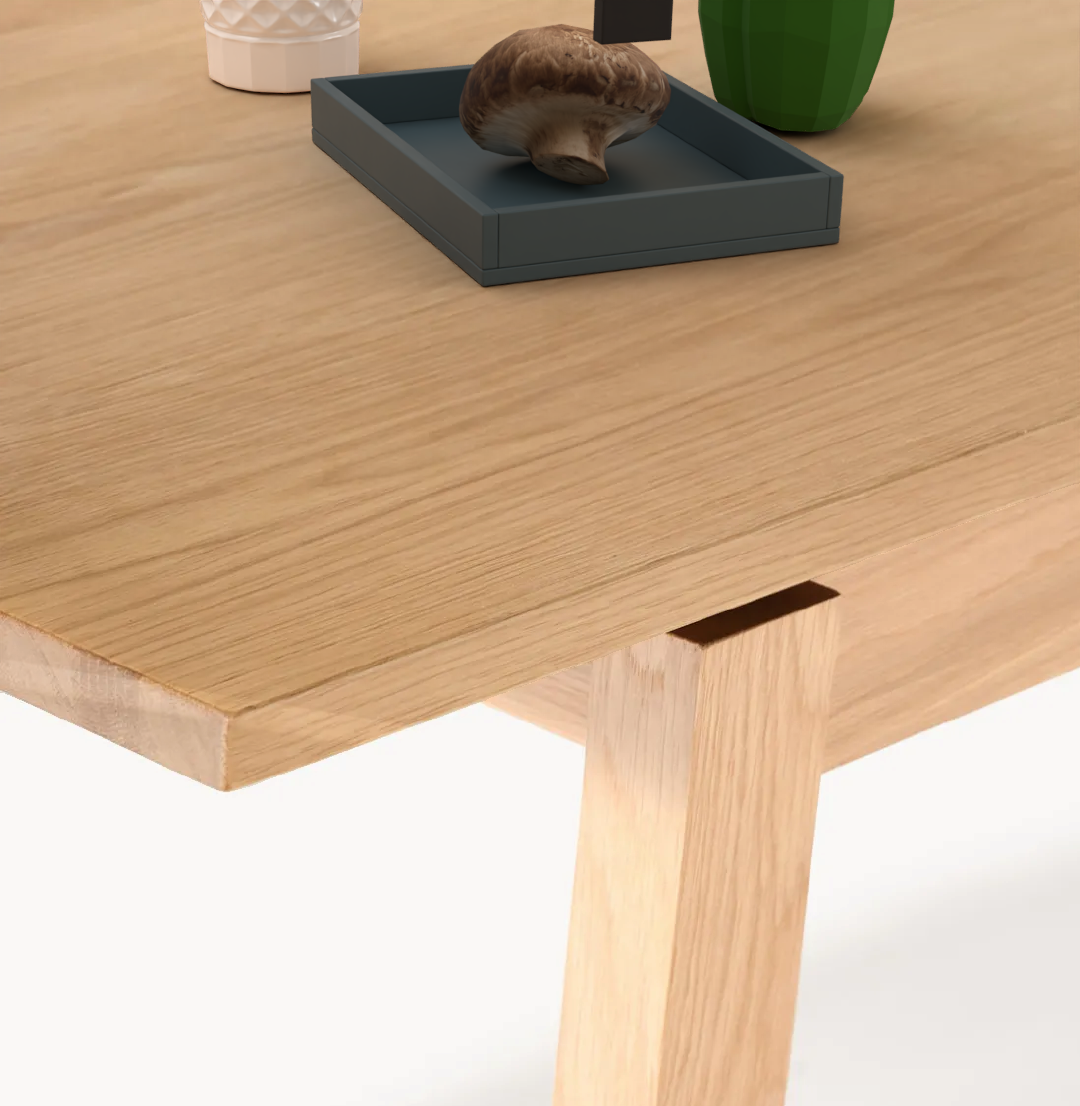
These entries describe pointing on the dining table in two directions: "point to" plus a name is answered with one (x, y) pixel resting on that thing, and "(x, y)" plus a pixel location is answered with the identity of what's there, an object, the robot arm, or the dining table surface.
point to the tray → (566, 208)
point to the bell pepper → (793, 57)
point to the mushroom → (562, 100)
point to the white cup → (280, 42)
